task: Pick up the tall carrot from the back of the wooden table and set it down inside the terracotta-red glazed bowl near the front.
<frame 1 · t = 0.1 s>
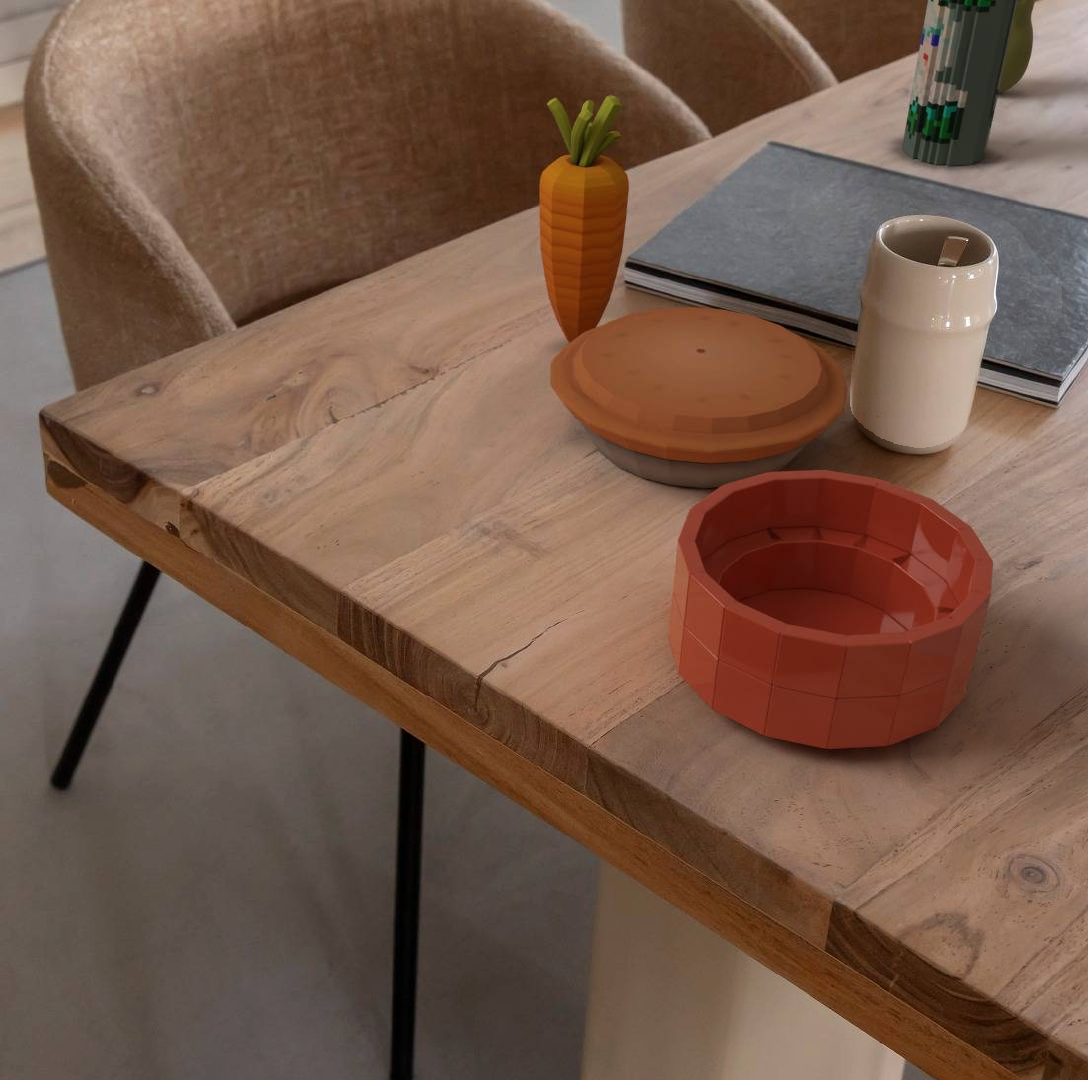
pear: (988, 93, 127), on the table
carrot: (576, 350, 86), on the table
bowl: (813, 664, 62), on the table
can: (942, 154, 114), on the table
pie: (692, 437, 78), on the table
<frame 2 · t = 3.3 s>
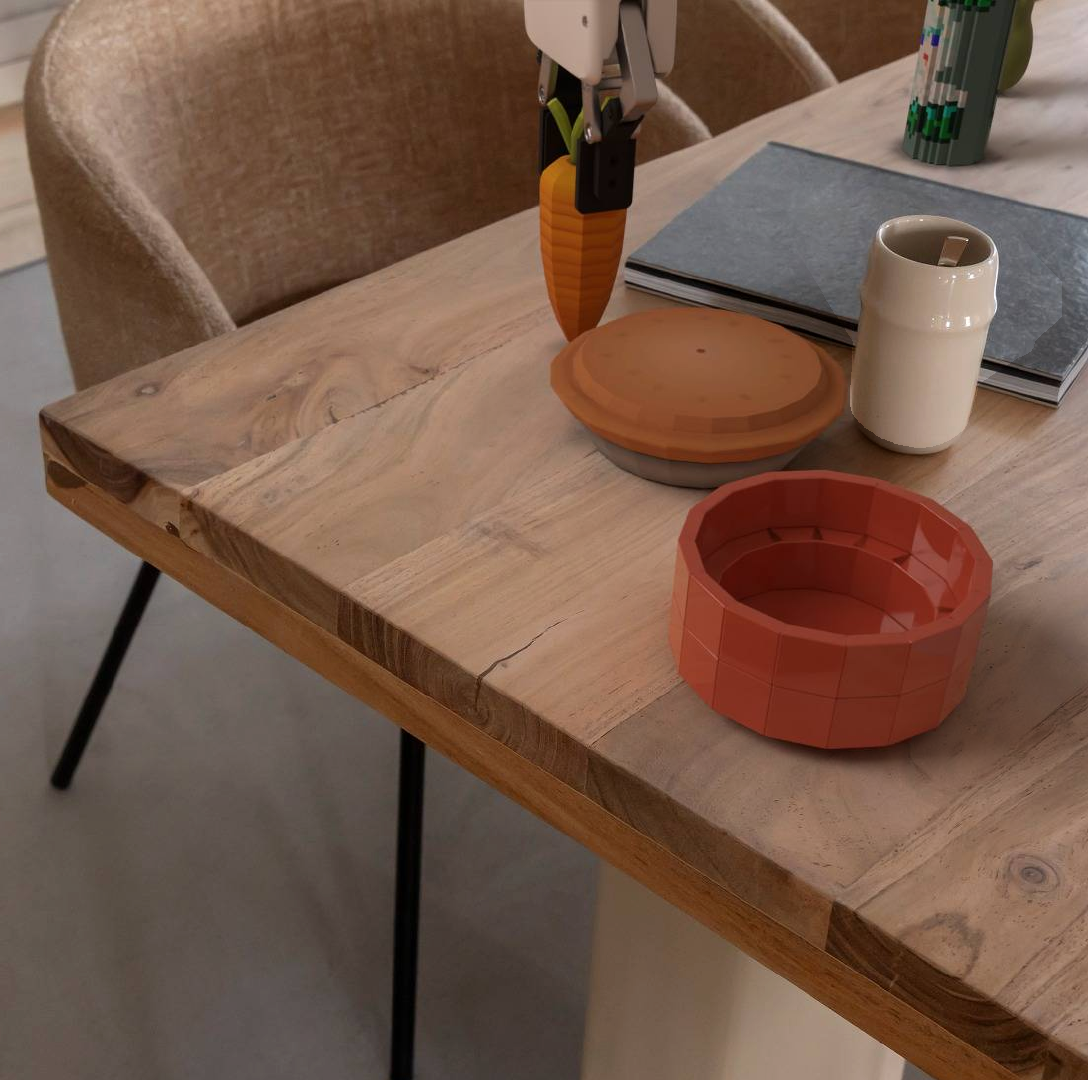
hand: (584, 188, 80), 10 cm above the table, tool pointing down, fingers closed on carrot, 4 cm apart
carrot: (576, 350, 86), on the table, touching gripper
everything else where it was.
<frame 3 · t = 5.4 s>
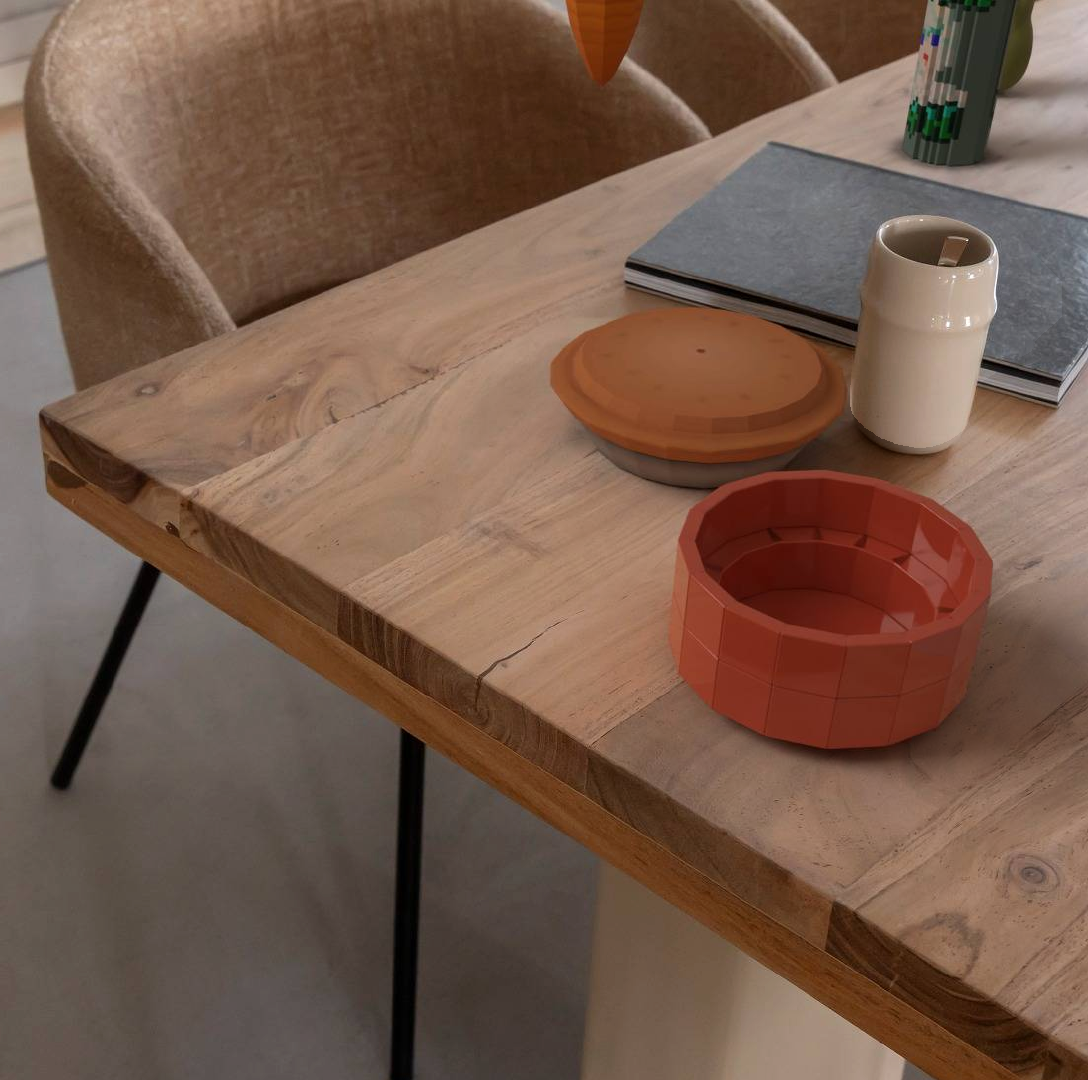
carrot: (601, 89, 76), point 15 cm above the table, touching gripper
everything else where it was.
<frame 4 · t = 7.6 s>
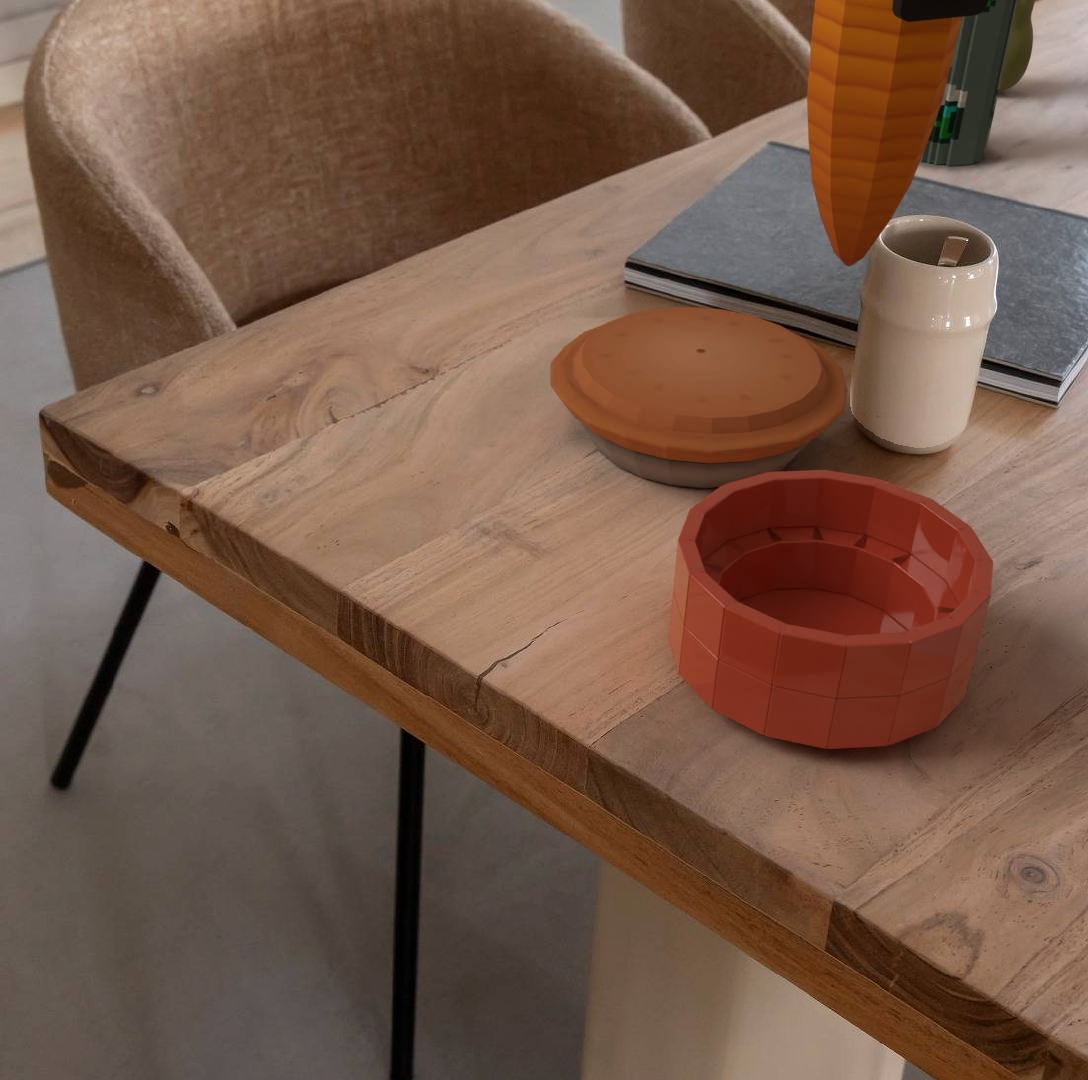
carrot: (847, 269, 54), point 17 cm above the table, touching gripper
everything else where it was.
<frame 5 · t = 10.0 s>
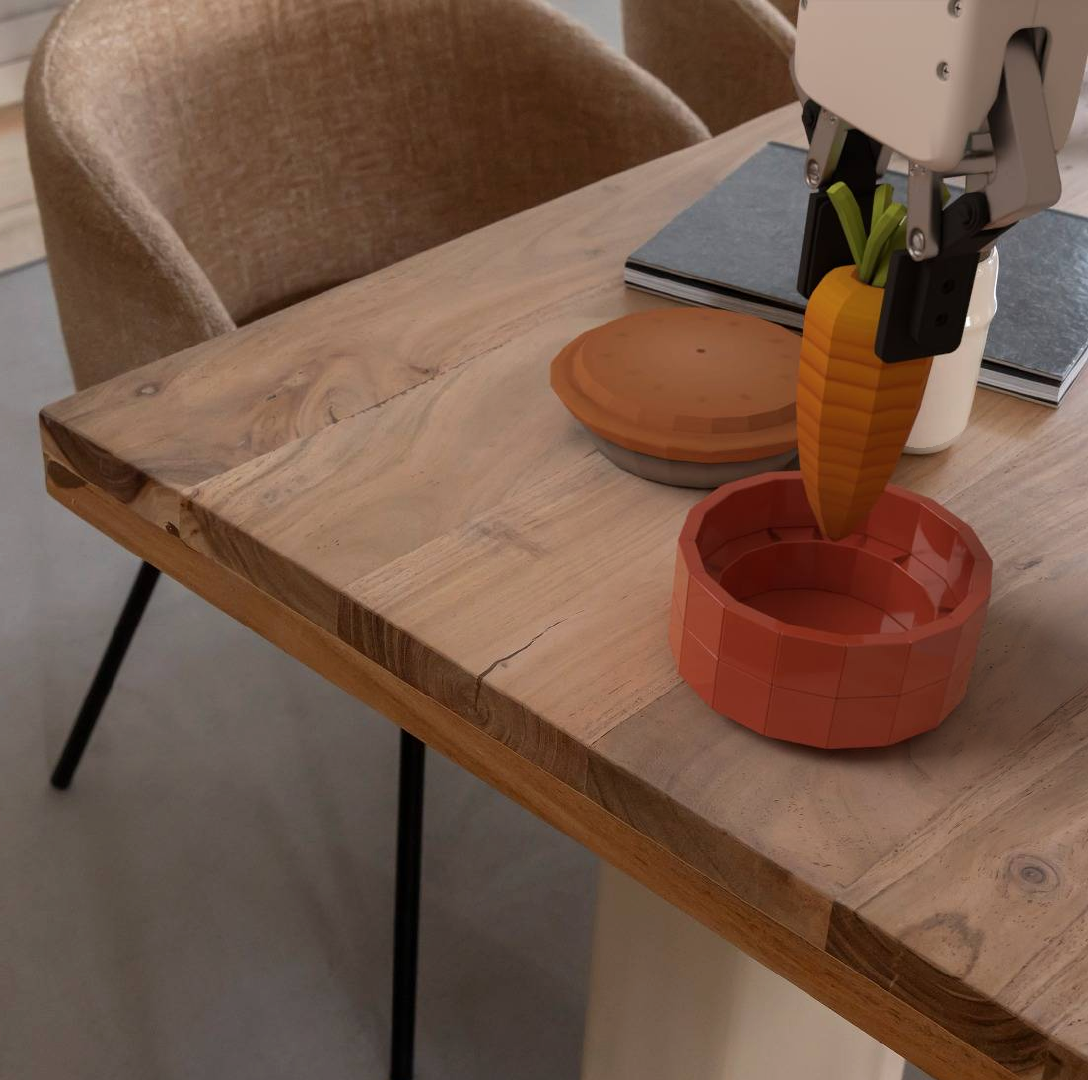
hand: (875, 317, 52), 16 cm above the table, tool pointing down, fingers closed on carrot, 4 cm apart
carrot: (833, 544, 58), point 6 cm above the table, touching gripper
everything else where it was.
when the fingers open (11 cm above the table, at t = 11.8 s): carrot stays where it is, resting on bowl.
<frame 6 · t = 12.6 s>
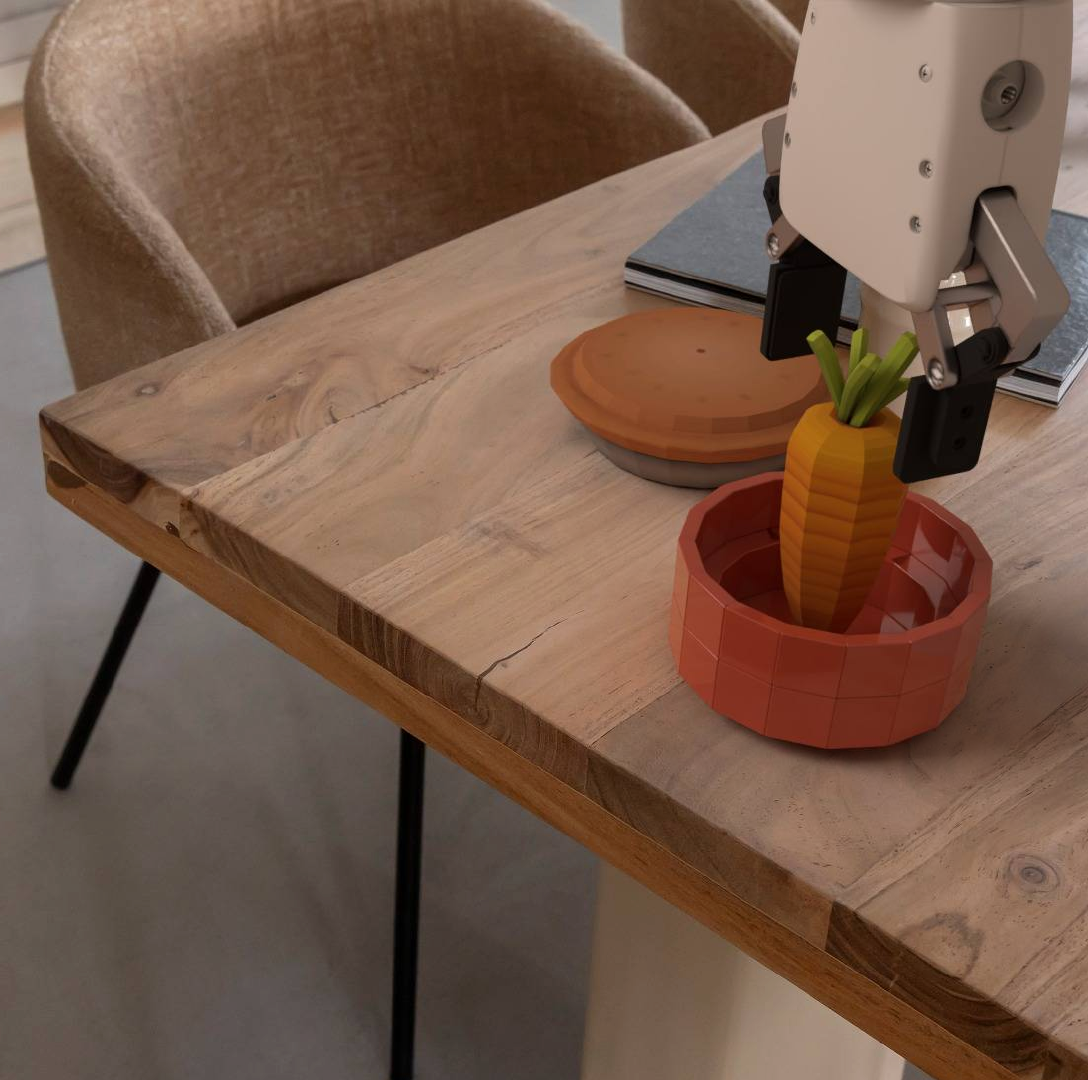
hand: (860, 409, 55), 12 cm above the table, tool pointing down, fingers open, 9 cm apart
carrot: (815, 653, 62), point 1 cm above the table, touching bowl
everything else where it was.
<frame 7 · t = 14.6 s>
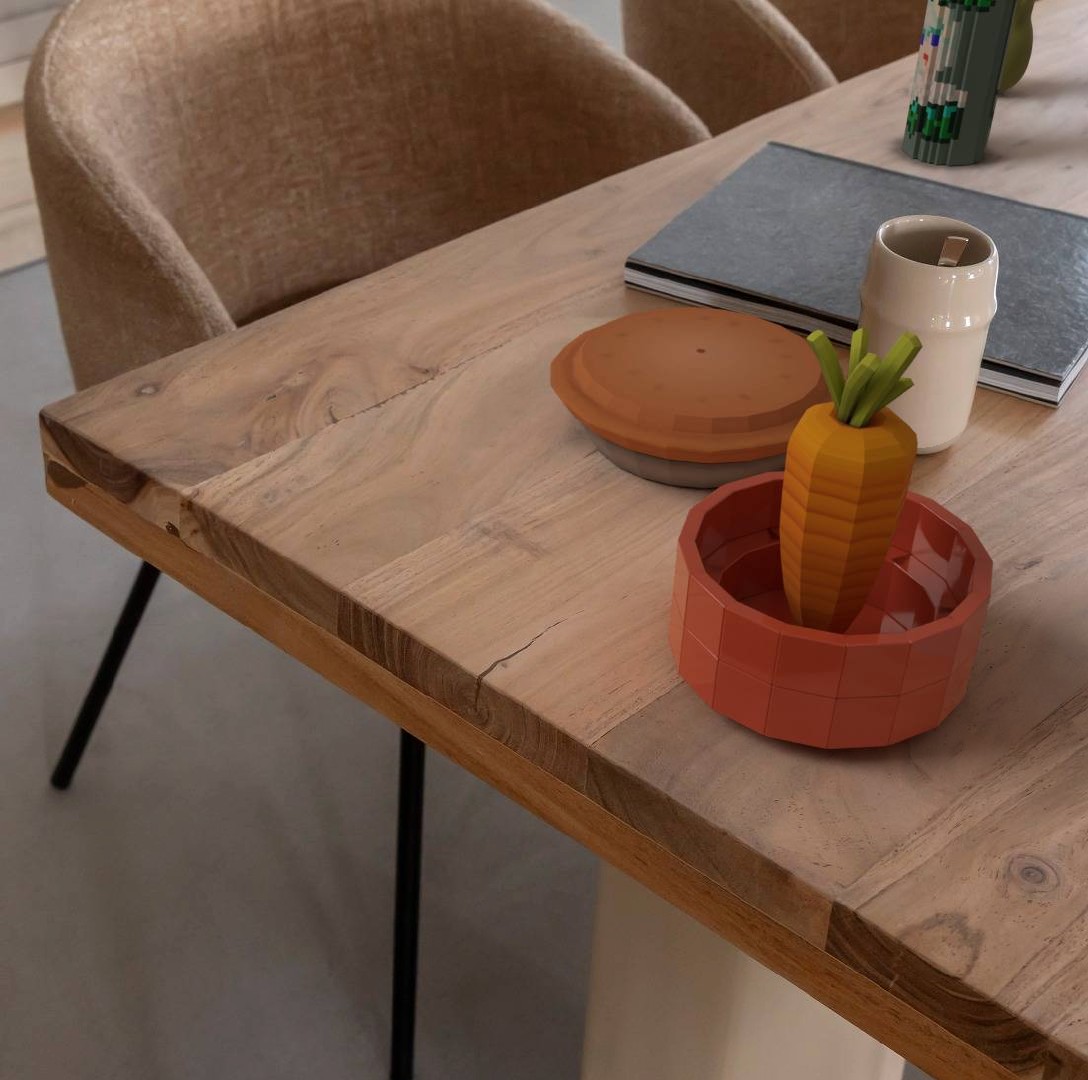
nothing on the table moved.
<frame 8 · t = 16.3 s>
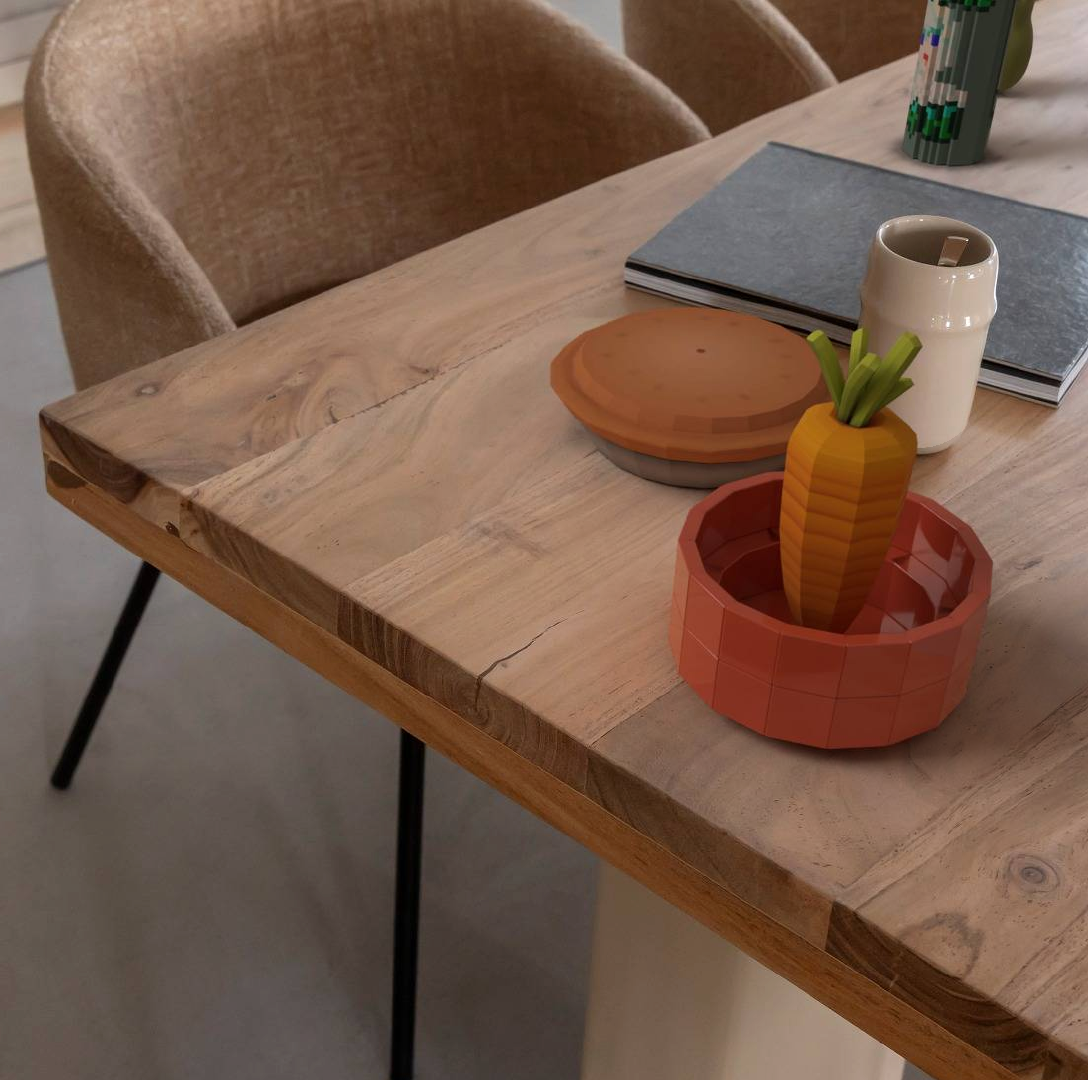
nothing on the table moved.
at the end: carrot inside the target area in the bowl (0.0 cm from its centre), point 0.6 cm above the bowl's base; the gripper is holding nothing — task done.
